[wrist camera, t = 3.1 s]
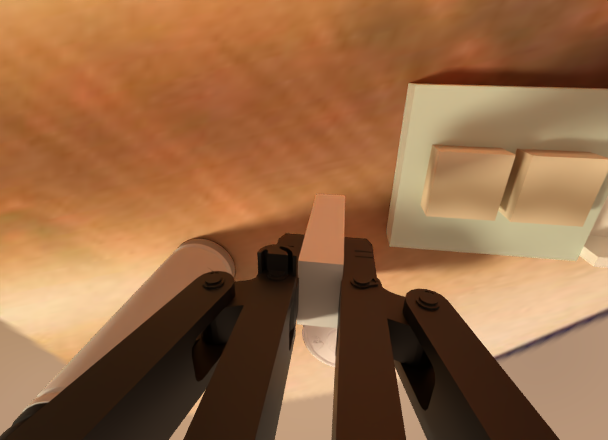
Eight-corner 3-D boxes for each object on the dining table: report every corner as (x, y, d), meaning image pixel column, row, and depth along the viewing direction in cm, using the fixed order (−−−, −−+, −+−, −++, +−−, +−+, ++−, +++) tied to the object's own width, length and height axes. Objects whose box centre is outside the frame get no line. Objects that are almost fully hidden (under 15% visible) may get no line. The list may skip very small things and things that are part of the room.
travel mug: (247, 255, 30) (106, 523, 12) (220, 299, 33) (73, 568, 15) (189, 223, 30) (-52, 458, 12) (167, 270, 32) (-55, 519, 14)
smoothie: (306, 275, 30) (279, 419, 18) (325, 219, 28) (307, 341, 15) (370, 293, 30) (386, 449, 18) (394, 239, 28) (435, 378, 15)
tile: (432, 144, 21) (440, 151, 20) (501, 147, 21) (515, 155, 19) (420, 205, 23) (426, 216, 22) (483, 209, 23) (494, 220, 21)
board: (408, 83, 22) (415, 84, 20) (623, 89, 21) (657, 91, 19) (385, 232, 27) (389, 246, 25) (556, 244, 26) (576, 261, 24)
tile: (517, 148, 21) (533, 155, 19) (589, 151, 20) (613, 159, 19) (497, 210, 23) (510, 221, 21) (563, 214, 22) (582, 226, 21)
